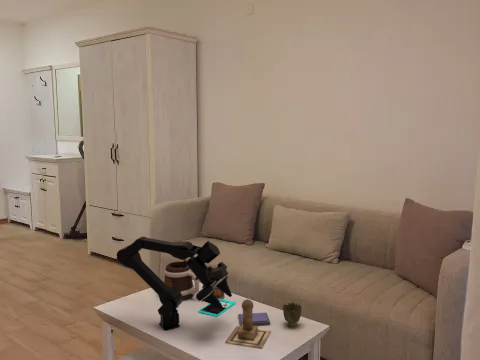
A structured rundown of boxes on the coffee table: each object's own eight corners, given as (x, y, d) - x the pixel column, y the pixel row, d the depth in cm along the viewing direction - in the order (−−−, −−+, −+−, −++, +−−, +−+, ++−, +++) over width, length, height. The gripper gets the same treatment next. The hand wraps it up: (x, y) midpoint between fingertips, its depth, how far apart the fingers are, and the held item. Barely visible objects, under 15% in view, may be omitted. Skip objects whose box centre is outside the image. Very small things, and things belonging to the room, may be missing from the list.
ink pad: (240, 326, 169) (240, 323, 169) (238, 316, 178) (238, 313, 178) (270, 325, 170) (270, 321, 170) (266, 315, 179) (266, 311, 179)
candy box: (205, 300, 195) (204, 268, 193) (204, 297, 199) (203, 265, 197) (224, 298, 197) (224, 266, 195) (222, 295, 201) (222, 263, 199)
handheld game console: (236, 304, 191) (236, 301, 191) (217, 318, 178) (217, 315, 177) (217, 300, 196) (217, 297, 196) (197, 313, 182) (197, 310, 182)
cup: (289, 331, 165) (289, 311, 164) (279, 323, 171) (279, 304, 170) (305, 327, 168) (305, 307, 167) (294, 319, 175) (294, 300, 174)
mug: (155, 297, 199) (154, 266, 197) (178, 287, 212) (177, 258, 210) (187, 307, 188) (187, 274, 186) (209, 295, 200) (208, 265, 198)
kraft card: (225, 343, 156) (225, 341, 156) (236, 327, 169) (236, 325, 168) (262, 348, 152) (262, 347, 152) (270, 332, 164) (270, 330, 164)
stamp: (237, 338, 158) (237, 302, 157) (242, 331, 164) (242, 295, 162) (253, 341, 157) (253, 304, 155) (257, 333, 162) (257, 297, 160)
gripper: (203, 268, 152) (231, 303, 151) (224, 249, 169) (249, 280, 168) (184, 284, 157) (211, 318, 156) (205, 264, 174) (230, 294, 173)
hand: (226, 301), depth 163 cm, fingers open, 9 cm apart
